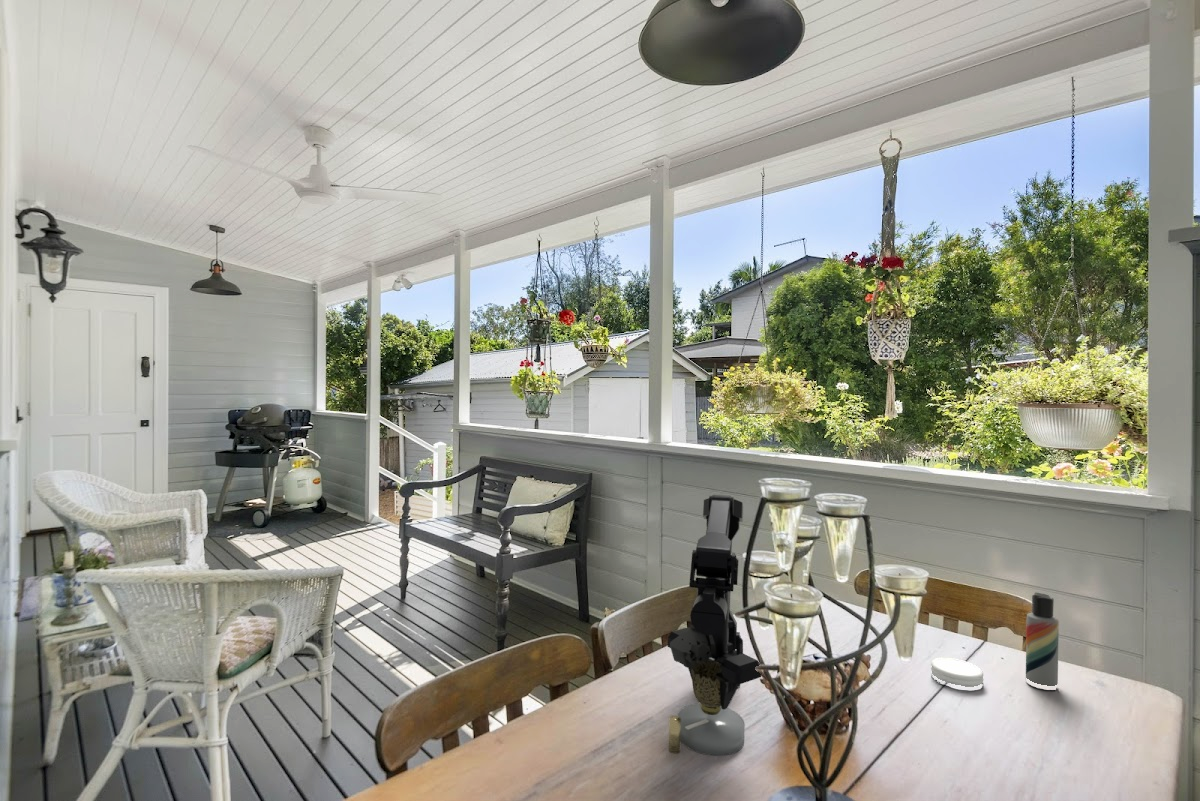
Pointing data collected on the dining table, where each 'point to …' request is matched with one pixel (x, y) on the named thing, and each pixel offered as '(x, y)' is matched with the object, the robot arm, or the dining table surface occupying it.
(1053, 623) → the lotion bottle
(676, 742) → the brass dowel
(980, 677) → the coaster
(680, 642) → the robot arm
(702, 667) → the cup
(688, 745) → the computer mouse
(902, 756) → the dining table surface
